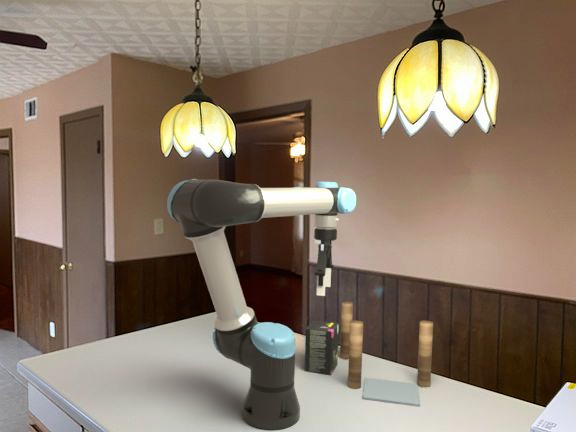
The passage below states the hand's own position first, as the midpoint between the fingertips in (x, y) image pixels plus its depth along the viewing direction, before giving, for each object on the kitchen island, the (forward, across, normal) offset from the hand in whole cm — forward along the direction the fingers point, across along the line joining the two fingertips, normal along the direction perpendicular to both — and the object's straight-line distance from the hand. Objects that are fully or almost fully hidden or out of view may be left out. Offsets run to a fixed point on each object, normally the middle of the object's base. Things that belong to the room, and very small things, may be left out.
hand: (323, 290), depth 149 cm
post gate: (+26, +11, -7) cm, 30 cm away
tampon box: (+27, 0, 0) cm, 27 cm away
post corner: (+26, -12, -12) cm, 31 cm away
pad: (+26, -13, -23) cm, 37 cm away
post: (+26, -5, -33) cm, 42 cm away
